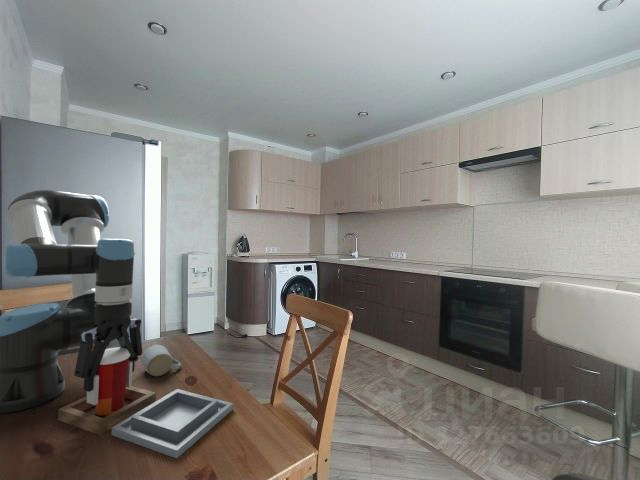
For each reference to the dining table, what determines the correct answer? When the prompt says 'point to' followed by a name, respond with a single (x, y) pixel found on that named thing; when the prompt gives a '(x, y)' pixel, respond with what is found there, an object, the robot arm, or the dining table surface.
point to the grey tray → (173, 422)
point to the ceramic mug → (158, 361)
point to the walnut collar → (101, 425)
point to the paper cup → (112, 380)
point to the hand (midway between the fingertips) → (110, 394)
